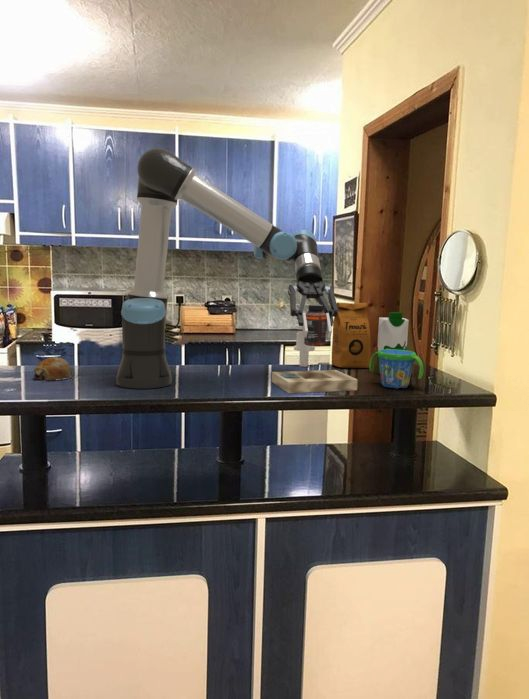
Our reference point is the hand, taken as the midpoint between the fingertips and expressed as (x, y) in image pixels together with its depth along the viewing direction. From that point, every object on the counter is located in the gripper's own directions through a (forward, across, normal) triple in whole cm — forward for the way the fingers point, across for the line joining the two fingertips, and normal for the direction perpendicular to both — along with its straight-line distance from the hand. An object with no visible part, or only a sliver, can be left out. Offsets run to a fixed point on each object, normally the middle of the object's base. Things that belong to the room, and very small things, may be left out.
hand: (317, 334), depth 156 cm
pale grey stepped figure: (-15, -3, -37) cm, 40 cm away
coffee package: (-13, -19, -35) cm, 42 cm away
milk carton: (-4, -28, -26) cm, 38 cm away
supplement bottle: (0, 0, -5) cm, 5 cm away
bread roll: (0, +74, -22) cm, 77 cm away
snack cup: (+9, -24, -13) cm, 28 cm away
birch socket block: (+8, 0, -13) cm, 16 cm away
